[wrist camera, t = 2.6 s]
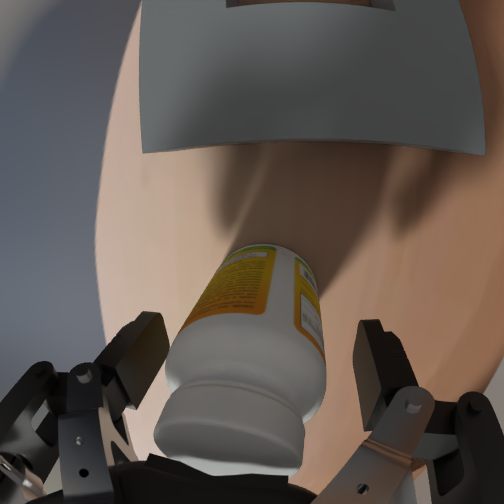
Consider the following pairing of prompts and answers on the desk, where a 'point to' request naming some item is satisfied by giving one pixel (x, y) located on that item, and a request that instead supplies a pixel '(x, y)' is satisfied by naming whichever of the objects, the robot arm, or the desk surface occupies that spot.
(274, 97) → the socket holder
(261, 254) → the supplement bottle
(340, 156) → the desk surface
